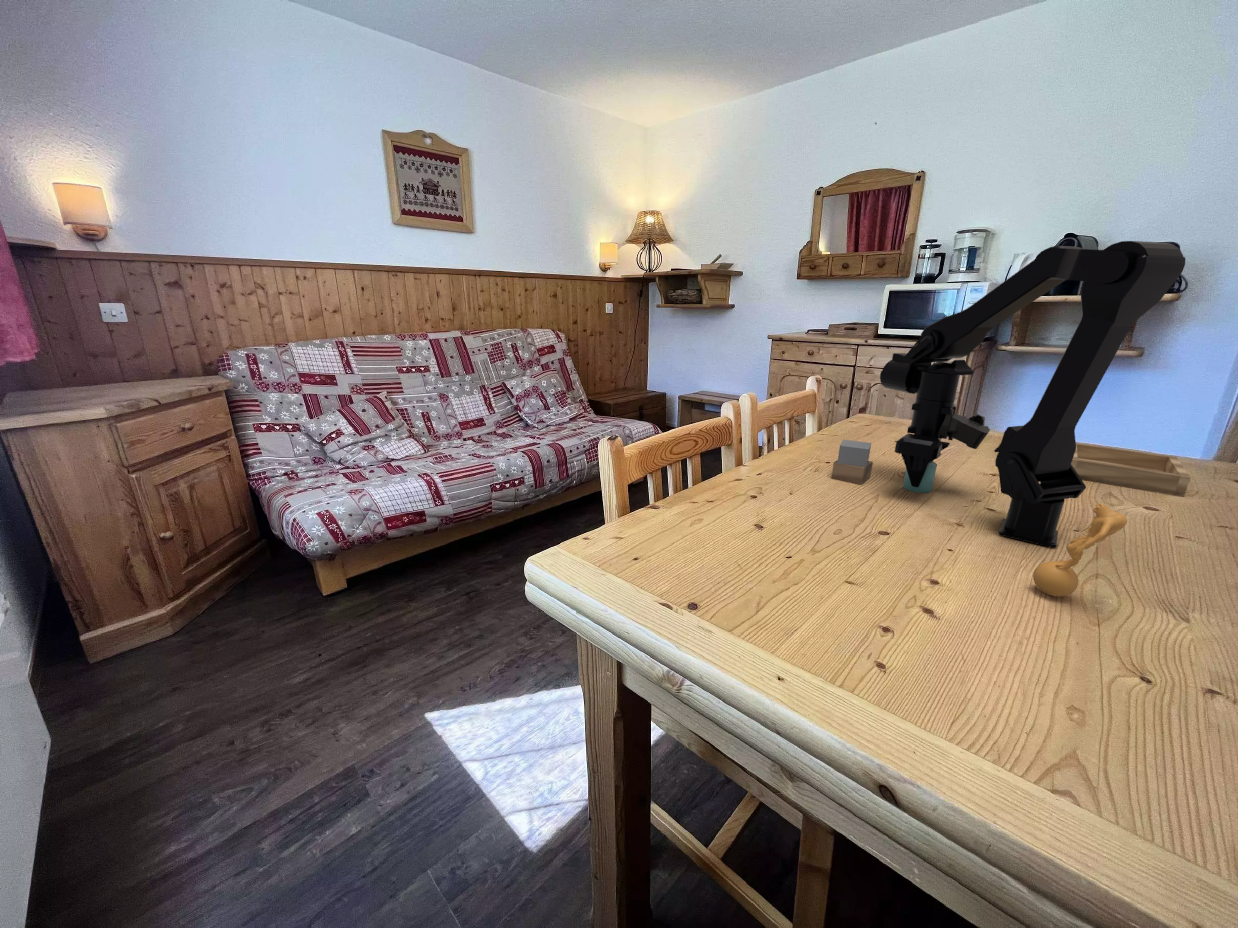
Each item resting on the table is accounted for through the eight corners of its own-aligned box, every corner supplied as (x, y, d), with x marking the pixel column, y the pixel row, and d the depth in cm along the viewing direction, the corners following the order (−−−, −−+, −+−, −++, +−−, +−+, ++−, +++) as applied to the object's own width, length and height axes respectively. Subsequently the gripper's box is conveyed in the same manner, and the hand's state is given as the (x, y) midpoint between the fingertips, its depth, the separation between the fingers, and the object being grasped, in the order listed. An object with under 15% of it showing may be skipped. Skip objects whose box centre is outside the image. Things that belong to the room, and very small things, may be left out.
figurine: (1038, 574, 63) (1065, 485, 59) (1102, 595, 58) (1136, 500, 55) (1020, 599, 58) (1048, 502, 54) (1089, 623, 53) (1125, 520, 49)
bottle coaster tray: (1183, 496, 88) (1190, 477, 87) (1064, 476, 98) (1069, 459, 96) (1170, 474, 99) (1176, 456, 98) (1064, 458, 109) (1069, 442, 108)
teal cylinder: (928, 495, 88) (934, 468, 87) (900, 488, 91) (904, 462, 90) (933, 488, 92) (939, 462, 90) (905, 482, 95) (910, 457, 93)
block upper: (866, 467, 93) (869, 449, 92) (837, 463, 95) (839, 445, 94) (868, 460, 97) (871, 442, 96) (840, 456, 99) (843, 439, 98)
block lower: (861, 486, 93) (863, 468, 92) (831, 479, 97) (833, 462, 96) (870, 478, 97) (872, 461, 96) (840, 472, 101) (843, 456, 99)
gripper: (985, 413, 75) (962, 510, 79) (997, 396, 88) (977, 479, 93) (902, 404, 81) (886, 493, 86) (925, 389, 95) (910, 467, 100)
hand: (918, 483), depth 91 cm, fingers closed on teal cylinder, 5 cm apart
